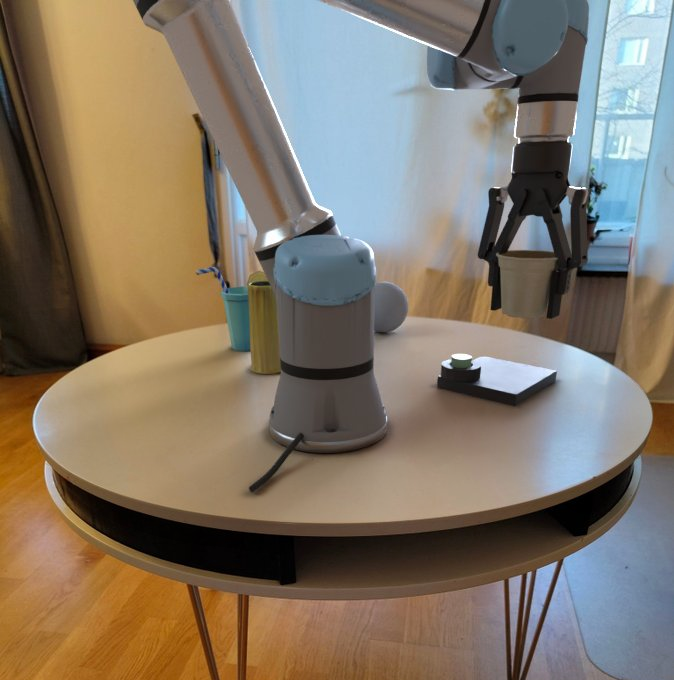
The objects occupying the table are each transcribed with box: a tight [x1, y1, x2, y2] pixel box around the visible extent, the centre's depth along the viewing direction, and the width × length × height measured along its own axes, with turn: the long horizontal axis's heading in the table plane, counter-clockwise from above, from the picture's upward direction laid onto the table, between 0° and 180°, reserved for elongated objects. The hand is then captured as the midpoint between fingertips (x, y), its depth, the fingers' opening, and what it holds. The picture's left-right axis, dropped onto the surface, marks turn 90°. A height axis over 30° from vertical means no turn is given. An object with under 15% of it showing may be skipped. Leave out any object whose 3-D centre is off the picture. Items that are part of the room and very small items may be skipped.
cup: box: [195, 266, 268, 352], centre depth 113 cm, size 14×8×15 cm, turn 95°
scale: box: [436, 355, 558, 407], centre depth 95 cm, size 14×13×4 cm
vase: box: [248, 280, 281, 375], centre depth 101 cm, size 6×6×14 cm
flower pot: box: [496, 249, 558, 319], centre depth 89 cm, size 9×9×9 cm
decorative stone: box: [374, 281, 409, 334], centre depth 123 cm, size 10×10×10 cm
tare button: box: [451, 353, 473, 368], centre depth 93 cm, size 3×3×2 cm
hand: (524, 312), depth 91 cm, fingers closed on flower pot, 8 cm apart
